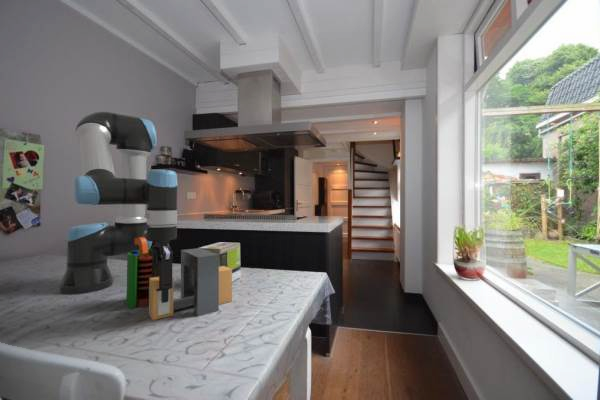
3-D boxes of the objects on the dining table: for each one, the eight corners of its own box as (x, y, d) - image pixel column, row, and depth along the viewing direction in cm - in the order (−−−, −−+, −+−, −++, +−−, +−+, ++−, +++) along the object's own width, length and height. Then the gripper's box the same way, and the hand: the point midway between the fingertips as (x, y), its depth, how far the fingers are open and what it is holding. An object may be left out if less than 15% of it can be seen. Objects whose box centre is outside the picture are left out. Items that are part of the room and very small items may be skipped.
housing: (180, 301, 84) (181, 250, 84) (199, 296, 88) (200, 248, 88) (197, 316, 72) (197, 257, 72) (218, 310, 76) (218, 254, 76)
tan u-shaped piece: (148, 313, 74) (148, 277, 74) (223, 296, 88) (224, 265, 88) (153, 321, 69) (153, 282, 69) (231, 301, 83) (232, 269, 84)
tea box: (220, 276, 113) (220, 241, 113) (241, 278, 110) (241, 242, 110) (196, 286, 98) (196, 246, 99) (220, 289, 95) (220, 248, 96)
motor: (143, 309, 77) (144, 240, 77) (117, 307, 79) (118, 239, 79) (167, 297, 87) (168, 236, 87) (144, 295, 89) (144, 235, 89)
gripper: (140, 224, 78) (139, 304, 78) (153, 229, 64) (153, 325, 64) (168, 223, 83) (167, 298, 83) (186, 227, 69) (185, 317, 69)
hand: (161, 310), depth 73 cm, fingers closed on tan u-shaped piece, 5 cm apart
